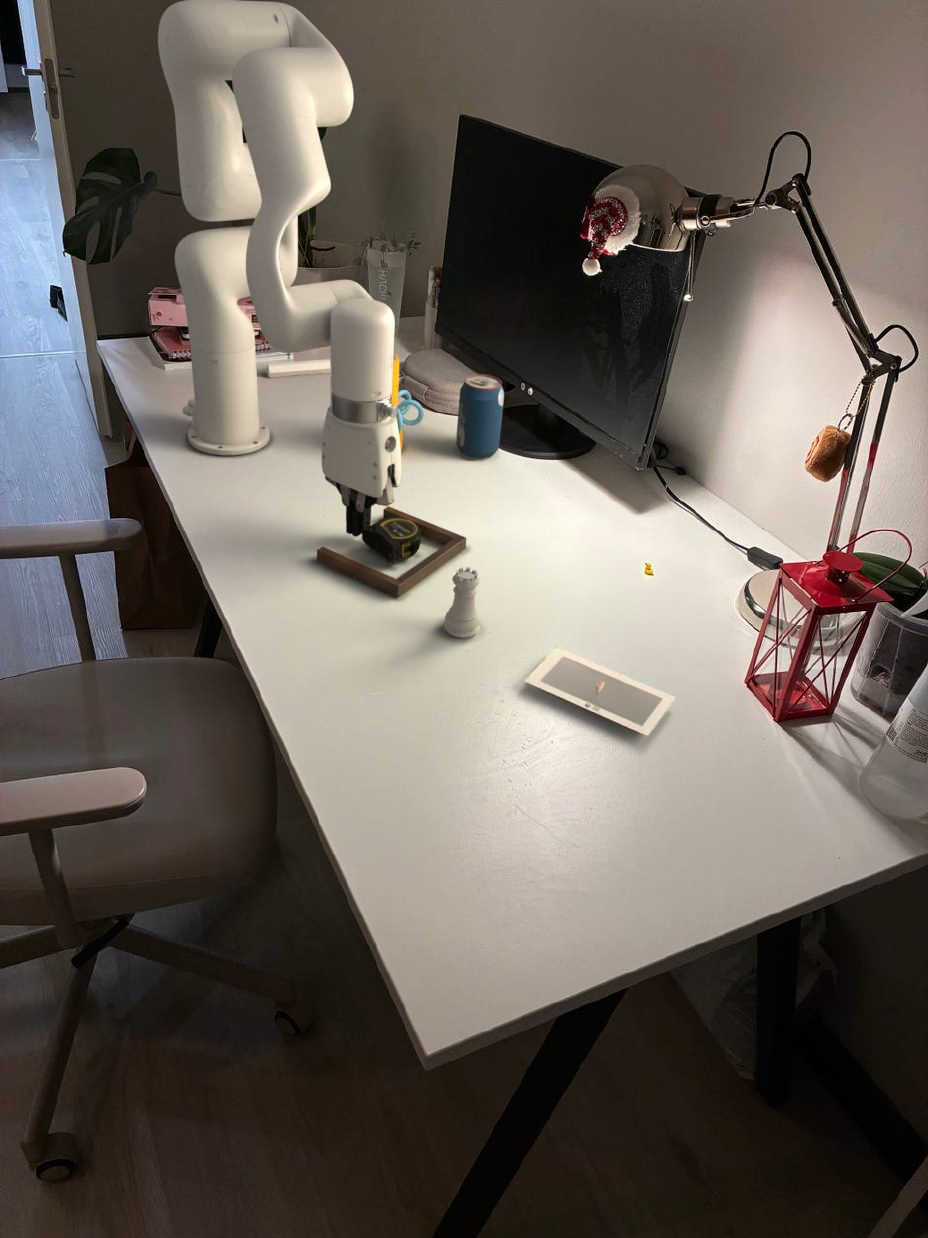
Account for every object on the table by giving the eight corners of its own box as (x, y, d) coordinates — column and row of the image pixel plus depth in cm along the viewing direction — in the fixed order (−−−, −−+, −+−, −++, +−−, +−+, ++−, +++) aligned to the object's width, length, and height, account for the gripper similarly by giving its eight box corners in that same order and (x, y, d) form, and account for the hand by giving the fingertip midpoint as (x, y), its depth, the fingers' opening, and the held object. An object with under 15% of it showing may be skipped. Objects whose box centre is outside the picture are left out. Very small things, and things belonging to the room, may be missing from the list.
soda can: (506, 451, 157) (513, 380, 150) (483, 465, 152) (490, 393, 145) (470, 438, 160) (476, 368, 153) (447, 452, 155) (452, 381, 148)
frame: (316, 561, 126) (316, 549, 125) (388, 517, 137) (388, 506, 136) (397, 598, 121) (398, 586, 120) (465, 548, 131) (466, 537, 130)
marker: (353, 373, 181) (268, 379, 175) (350, 364, 182) (265, 370, 176) (355, 364, 179) (269, 370, 173) (352, 355, 180) (267, 360, 174)
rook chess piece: (485, 623, 118) (491, 568, 113) (473, 643, 114) (479, 587, 109) (450, 614, 119) (455, 559, 114) (437, 634, 115) (442, 577, 110)
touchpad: (555, 654, 114) (557, 639, 112) (674, 705, 108) (677, 690, 106) (522, 688, 108) (524, 673, 107) (646, 743, 102) (649, 728, 101)
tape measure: (359, 548, 130) (359, 523, 127) (400, 534, 133) (401, 510, 131) (388, 571, 126) (389, 546, 123) (430, 556, 129) (432, 532, 127)
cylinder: (425, 438, 159) (430, 349, 150) (416, 466, 150) (421, 374, 142) (352, 430, 159) (353, 341, 151) (339, 457, 151) (339, 364, 142)
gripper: (427, 412, 119) (419, 539, 130) (334, 378, 125) (333, 502, 136) (390, 431, 114) (385, 562, 125) (294, 395, 120) (297, 522, 131)
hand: (358, 530), depth 130 cm, fingers closed
